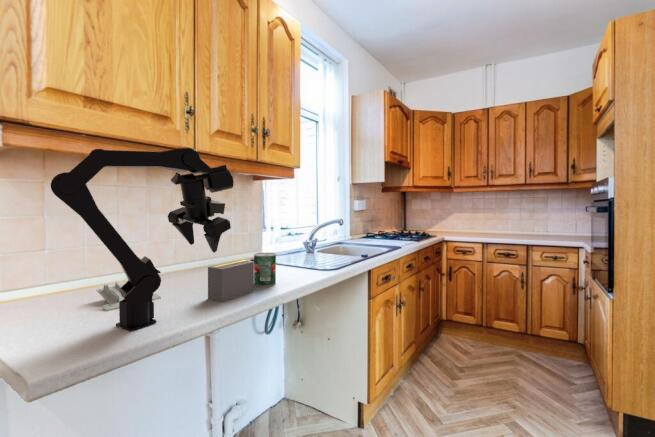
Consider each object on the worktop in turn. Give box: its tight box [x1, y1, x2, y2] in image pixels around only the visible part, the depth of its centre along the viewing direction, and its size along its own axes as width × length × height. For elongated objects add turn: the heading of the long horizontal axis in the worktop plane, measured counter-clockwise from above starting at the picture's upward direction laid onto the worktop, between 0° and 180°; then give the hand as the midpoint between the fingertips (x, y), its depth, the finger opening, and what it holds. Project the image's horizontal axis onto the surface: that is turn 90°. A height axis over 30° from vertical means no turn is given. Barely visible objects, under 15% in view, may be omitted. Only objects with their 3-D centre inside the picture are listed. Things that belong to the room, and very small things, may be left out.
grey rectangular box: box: [207, 259, 255, 303], centre depth 106 cm, size 14×6×10 cm, turn 152°
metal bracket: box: [96, 281, 162, 312], centre depth 98 cm, size 14×6×15 cm
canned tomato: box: [253, 252, 277, 288], centre depth 120 cm, size 8×8×11 cm
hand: (203, 247), depth 94 cm, fingers open, 9 cm apart
